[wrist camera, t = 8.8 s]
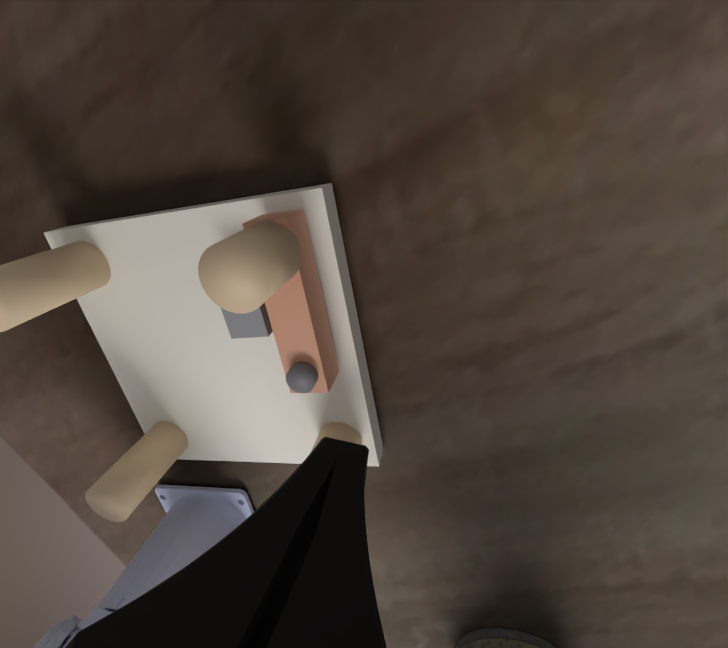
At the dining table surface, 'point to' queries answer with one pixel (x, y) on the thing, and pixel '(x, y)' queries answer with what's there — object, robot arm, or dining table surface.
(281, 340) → the folding leg
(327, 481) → the robot arm
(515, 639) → the thermos
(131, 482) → the stool seat
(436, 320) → the dining table surface
